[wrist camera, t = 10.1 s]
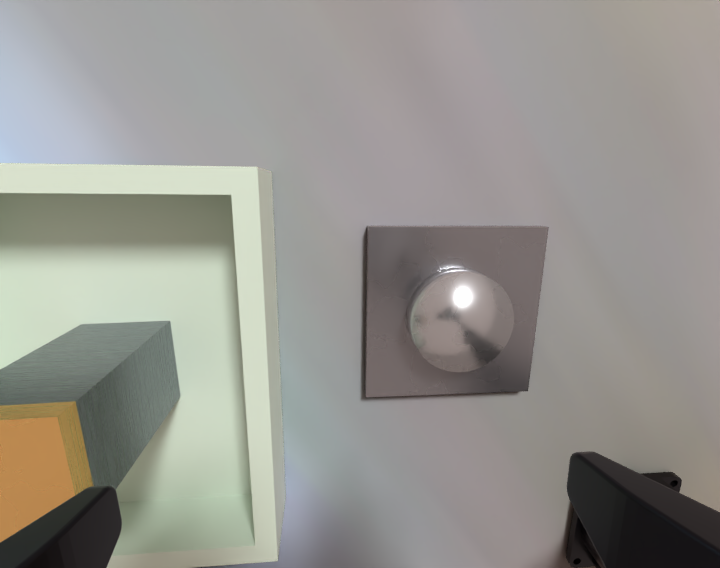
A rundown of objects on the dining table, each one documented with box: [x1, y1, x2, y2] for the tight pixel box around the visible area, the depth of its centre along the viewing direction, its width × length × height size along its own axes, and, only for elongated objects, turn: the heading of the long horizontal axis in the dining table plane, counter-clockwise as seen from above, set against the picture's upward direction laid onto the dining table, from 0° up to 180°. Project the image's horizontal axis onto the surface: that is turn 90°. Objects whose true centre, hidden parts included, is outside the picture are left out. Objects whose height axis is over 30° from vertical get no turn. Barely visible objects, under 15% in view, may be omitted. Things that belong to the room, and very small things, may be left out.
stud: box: [365, 226, 549, 397], centre depth 19 cm, size 9×9×2 cm
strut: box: [0, 321, 181, 542], centre depth 15 cm, size 4×4×8 cm
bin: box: [0, 163, 286, 568], centre depth 18 cm, size 18×14×4 cm
